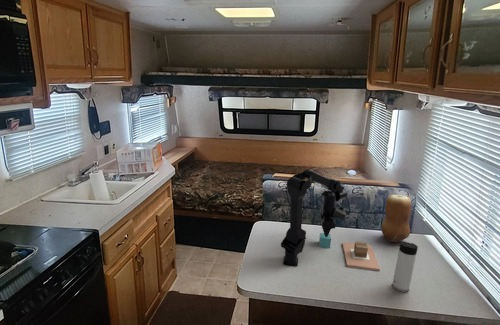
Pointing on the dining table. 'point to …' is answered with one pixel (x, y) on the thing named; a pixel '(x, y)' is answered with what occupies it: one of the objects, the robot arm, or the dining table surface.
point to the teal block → (324, 240)
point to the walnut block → (360, 249)
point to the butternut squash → (397, 218)
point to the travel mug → (404, 266)
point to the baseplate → (360, 258)
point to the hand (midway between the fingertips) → (325, 232)
